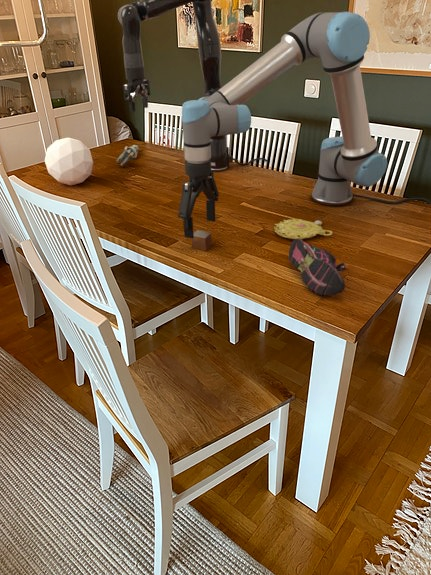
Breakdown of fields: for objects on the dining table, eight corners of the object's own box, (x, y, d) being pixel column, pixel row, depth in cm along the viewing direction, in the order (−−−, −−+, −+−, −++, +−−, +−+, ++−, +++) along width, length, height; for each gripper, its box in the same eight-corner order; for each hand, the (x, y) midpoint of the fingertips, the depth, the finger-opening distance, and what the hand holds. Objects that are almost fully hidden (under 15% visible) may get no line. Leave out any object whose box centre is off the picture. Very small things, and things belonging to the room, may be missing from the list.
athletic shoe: (331, 285, 107) (371, 277, 111) (291, 223, 118) (328, 219, 123) (315, 312, 115) (352, 304, 120) (279, 253, 127) (314, 247, 131)
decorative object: (286, 211, 157) (342, 219, 147) (286, 217, 158) (341, 226, 148) (260, 233, 142) (319, 243, 133) (260, 240, 144) (319, 251, 134)
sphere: (65, 197, 199) (41, 157, 196) (104, 175, 201) (80, 136, 198) (57, 189, 180) (29, 146, 177) (100, 165, 182) (73, 122, 180)
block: (198, 242, 142) (197, 229, 140) (212, 245, 140) (211, 232, 138) (192, 247, 139) (191, 234, 137) (205, 250, 137) (205, 237, 135)
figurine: (121, 147, 205) (136, 136, 231) (111, 160, 208) (127, 147, 235) (133, 159, 207) (147, 145, 233) (123, 171, 210) (137, 157, 237)
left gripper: (137, 63, 179) (142, 105, 188) (115, 67, 169) (121, 112, 178) (152, 63, 176) (156, 107, 185) (130, 68, 166) (136, 113, 175)
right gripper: (207, 147, 136) (209, 212, 147) (161, 170, 117) (167, 242, 129) (229, 150, 133) (229, 216, 144) (186, 174, 114) (190, 247, 126)
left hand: (139, 109), depth 181 cm, fingers open, 8 cm apart
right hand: (200, 228), depth 136 cm, fingers open, 13 cm apart
